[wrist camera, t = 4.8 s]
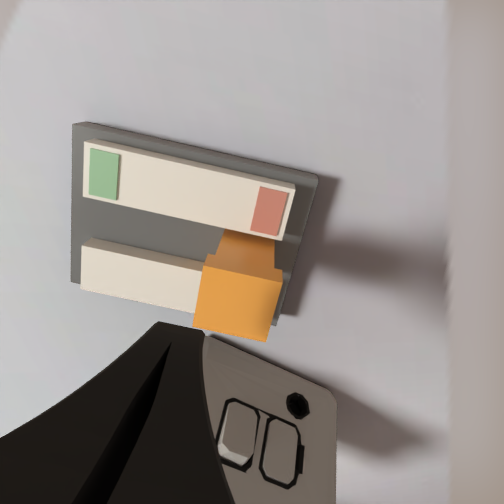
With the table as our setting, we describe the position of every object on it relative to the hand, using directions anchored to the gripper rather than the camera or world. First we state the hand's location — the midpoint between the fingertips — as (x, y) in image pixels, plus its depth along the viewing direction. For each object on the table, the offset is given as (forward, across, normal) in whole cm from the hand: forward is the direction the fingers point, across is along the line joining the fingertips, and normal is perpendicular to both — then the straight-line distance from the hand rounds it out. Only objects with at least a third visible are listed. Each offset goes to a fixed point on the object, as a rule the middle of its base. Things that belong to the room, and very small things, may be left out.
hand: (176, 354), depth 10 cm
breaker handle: (+8, -1, 0) cm, 8 cm away
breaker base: (+9, +2, 0) cm, 10 cm away
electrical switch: (+10, -4, +10) cm, 14 cm away
